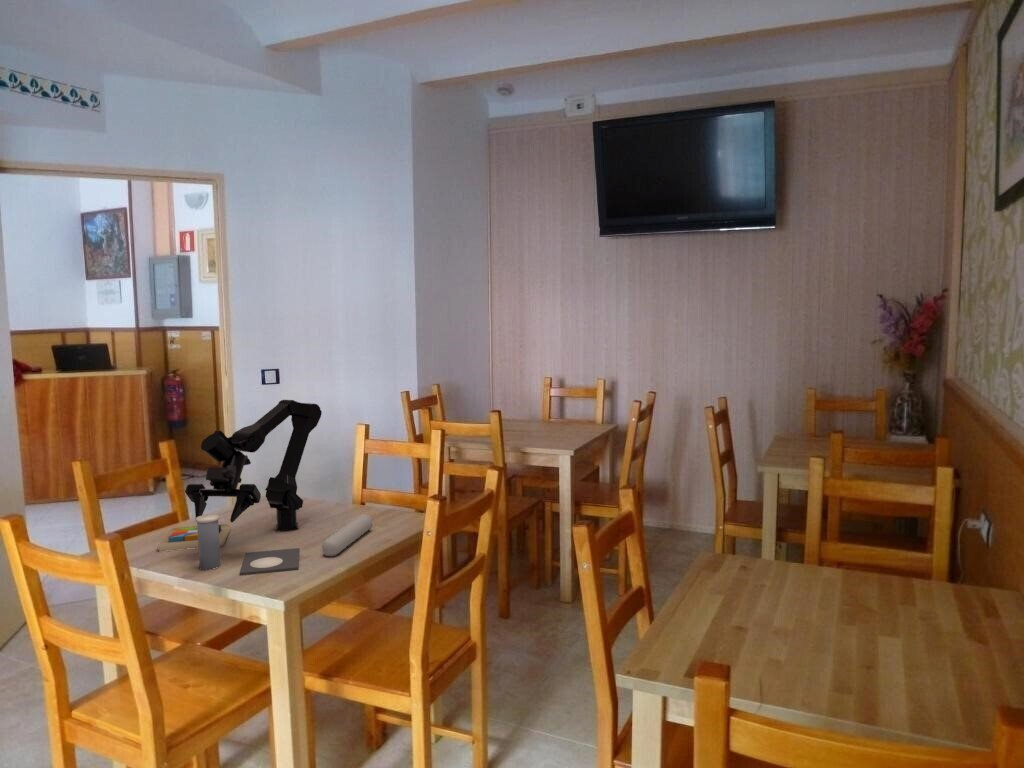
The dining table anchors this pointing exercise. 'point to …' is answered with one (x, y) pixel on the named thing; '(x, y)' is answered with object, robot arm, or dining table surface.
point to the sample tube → (208, 541)
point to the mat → (270, 561)
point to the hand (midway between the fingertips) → (214, 521)
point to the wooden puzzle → (189, 537)
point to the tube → (347, 535)
